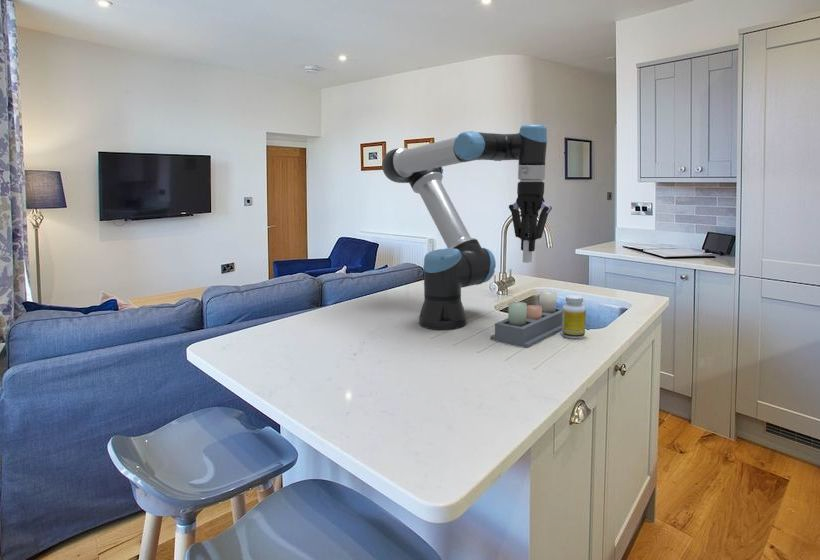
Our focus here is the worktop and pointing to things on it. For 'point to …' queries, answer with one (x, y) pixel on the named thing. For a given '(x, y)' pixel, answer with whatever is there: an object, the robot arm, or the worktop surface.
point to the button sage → (517, 313)
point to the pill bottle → (573, 317)
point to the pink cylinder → (534, 312)
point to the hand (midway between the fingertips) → (527, 261)
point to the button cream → (547, 301)
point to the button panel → (529, 330)
